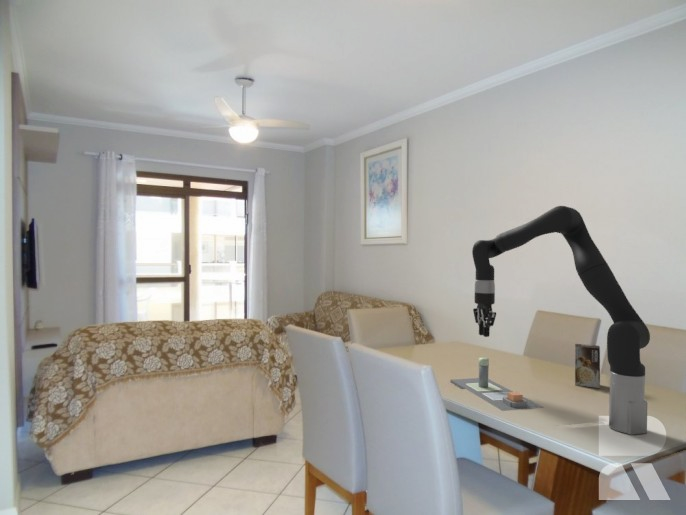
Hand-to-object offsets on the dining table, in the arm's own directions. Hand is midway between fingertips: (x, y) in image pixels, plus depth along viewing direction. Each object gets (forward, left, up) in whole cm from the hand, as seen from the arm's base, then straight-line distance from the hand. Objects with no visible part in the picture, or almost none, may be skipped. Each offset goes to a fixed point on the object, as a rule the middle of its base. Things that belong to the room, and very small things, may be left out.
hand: (484, 335), depth 184 cm
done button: (-21, 0, -19) cm, 28 cm away
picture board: (-7, 0, -21) cm, 22 cm away
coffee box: (-3, -45, -21) cm, 50 cm away
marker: (0, 0, -20) cm, 20 cm away
